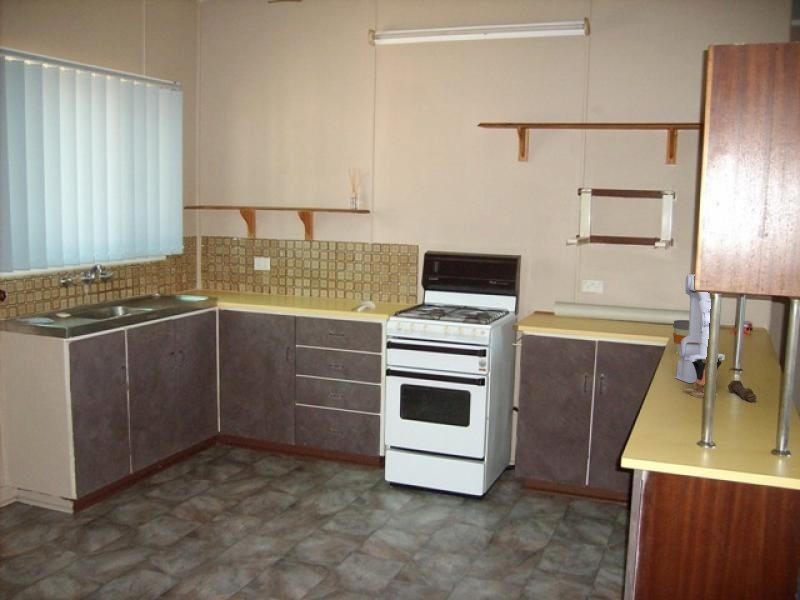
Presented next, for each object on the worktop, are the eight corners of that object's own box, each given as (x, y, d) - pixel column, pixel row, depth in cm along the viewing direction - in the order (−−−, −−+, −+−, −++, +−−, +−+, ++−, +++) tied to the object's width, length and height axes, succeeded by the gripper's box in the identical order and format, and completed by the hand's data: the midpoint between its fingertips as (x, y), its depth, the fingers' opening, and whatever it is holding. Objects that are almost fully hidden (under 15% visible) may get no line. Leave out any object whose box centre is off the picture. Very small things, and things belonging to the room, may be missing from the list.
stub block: (682, 391, 307) (683, 381, 306) (699, 390, 310) (700, 379, 309) (699, 398, 298) (700, 387, 297) (717, 397, 300) (718, 386, 300)
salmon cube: (696, 382, 302) (697, 369, 301) (706, 381, 303) (707, 369, 302) (704, 385, 297) (705, 372, 297) (714, 384, 299) (715, 371, 298)
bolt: (749, 407, 293) (731, 395, 308) (761, 401, 293) (743, 389, 308) (743, 394, 292) (725, 383, 307) (755, 388, 292) (737, 377, 307)
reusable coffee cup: (703, 355, 374) (705, 324, 372) (677, 355, 374) (679, 324, 372) (692, 350, 387) (694, 320, 385) (667, 350, 386) (669, 319, 384)
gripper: (699, 346, 292) (696, 382, 294) (731, 345, 297) (728, 380, 299) (686, 343, 299) (684, 378, 301) (718, 341, 303) (715, 376, 305)
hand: (705, 379), depth 300 cm, fingers closed on salmon cube, 5 cm apart
